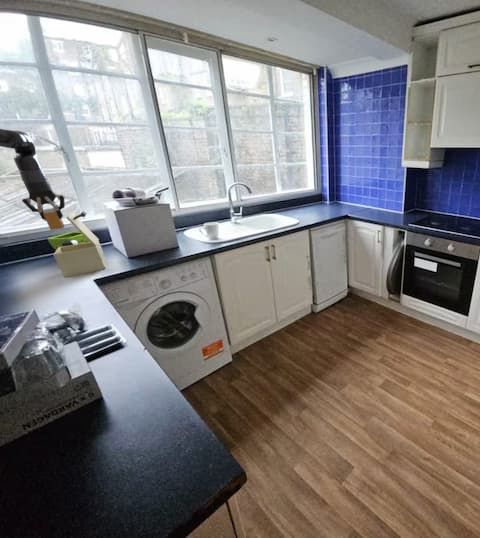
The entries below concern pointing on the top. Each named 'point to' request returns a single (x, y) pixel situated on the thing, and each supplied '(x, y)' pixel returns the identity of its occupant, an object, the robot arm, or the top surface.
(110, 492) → the top surface
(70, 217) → the lid
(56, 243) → the green angular block
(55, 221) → the orange block
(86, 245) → the bin
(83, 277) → the top surface
